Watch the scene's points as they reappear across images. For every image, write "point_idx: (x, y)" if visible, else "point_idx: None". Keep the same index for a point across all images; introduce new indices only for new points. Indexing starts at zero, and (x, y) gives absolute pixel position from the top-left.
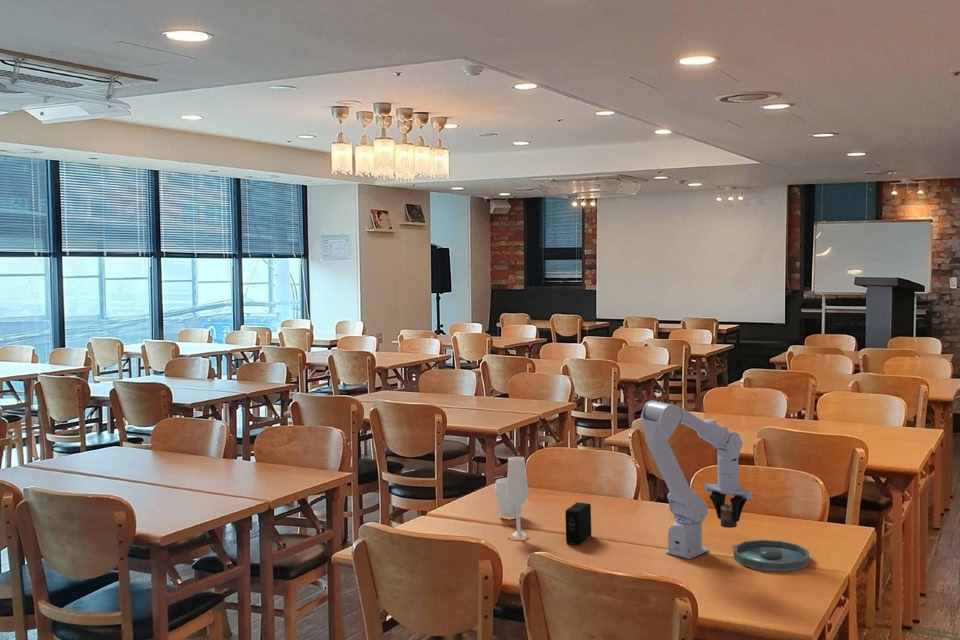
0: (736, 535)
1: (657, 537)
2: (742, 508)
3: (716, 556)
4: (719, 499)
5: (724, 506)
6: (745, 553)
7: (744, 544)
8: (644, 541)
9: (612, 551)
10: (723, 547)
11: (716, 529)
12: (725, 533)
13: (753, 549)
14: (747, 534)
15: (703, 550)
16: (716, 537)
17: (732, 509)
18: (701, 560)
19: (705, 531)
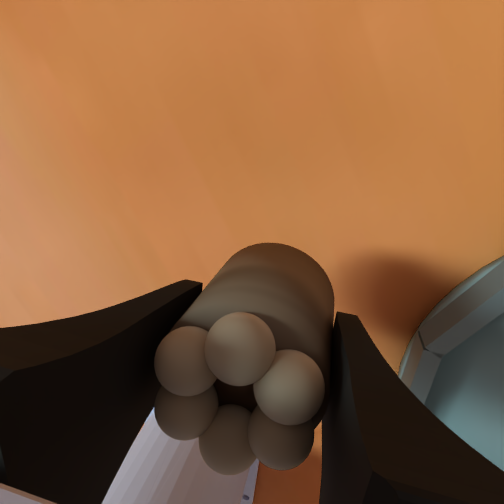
0: (268, 84)
1: (13, 324)
2: (411, 395)
3: None
4: (86, 478)
5: (196, 436)
6: (457, 422)
7: (432, 371)
8: None
9: None
10: None
11: (111, 40)
12: (193, 87)
13: (484, 350)
14: (323, 8)
15: None
16: (192, 195)
17: (320, 493)
18: (291, 499)
19: (91, 123)
